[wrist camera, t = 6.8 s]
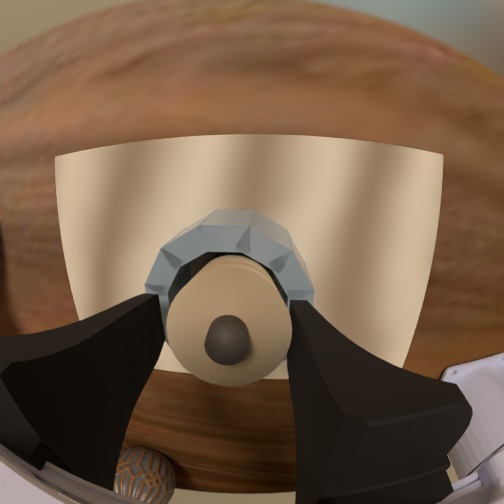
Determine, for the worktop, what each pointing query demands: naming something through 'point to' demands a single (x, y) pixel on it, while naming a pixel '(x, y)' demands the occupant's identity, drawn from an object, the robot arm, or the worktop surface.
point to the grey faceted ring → (230, 240)
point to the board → (271, 206)
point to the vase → (144, 475)
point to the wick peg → (229, 322)
